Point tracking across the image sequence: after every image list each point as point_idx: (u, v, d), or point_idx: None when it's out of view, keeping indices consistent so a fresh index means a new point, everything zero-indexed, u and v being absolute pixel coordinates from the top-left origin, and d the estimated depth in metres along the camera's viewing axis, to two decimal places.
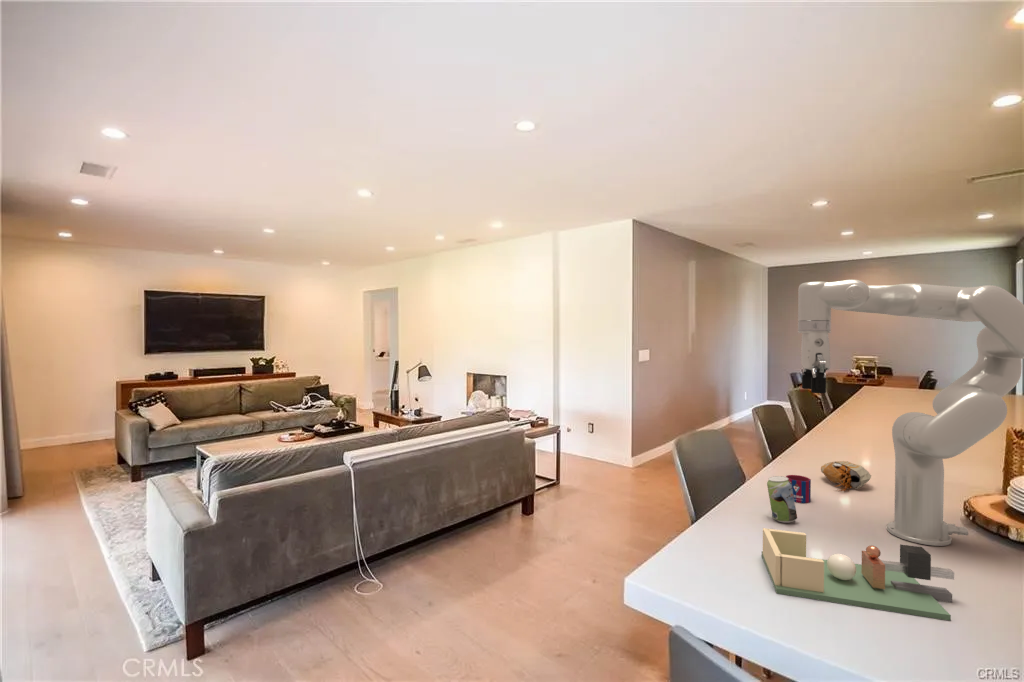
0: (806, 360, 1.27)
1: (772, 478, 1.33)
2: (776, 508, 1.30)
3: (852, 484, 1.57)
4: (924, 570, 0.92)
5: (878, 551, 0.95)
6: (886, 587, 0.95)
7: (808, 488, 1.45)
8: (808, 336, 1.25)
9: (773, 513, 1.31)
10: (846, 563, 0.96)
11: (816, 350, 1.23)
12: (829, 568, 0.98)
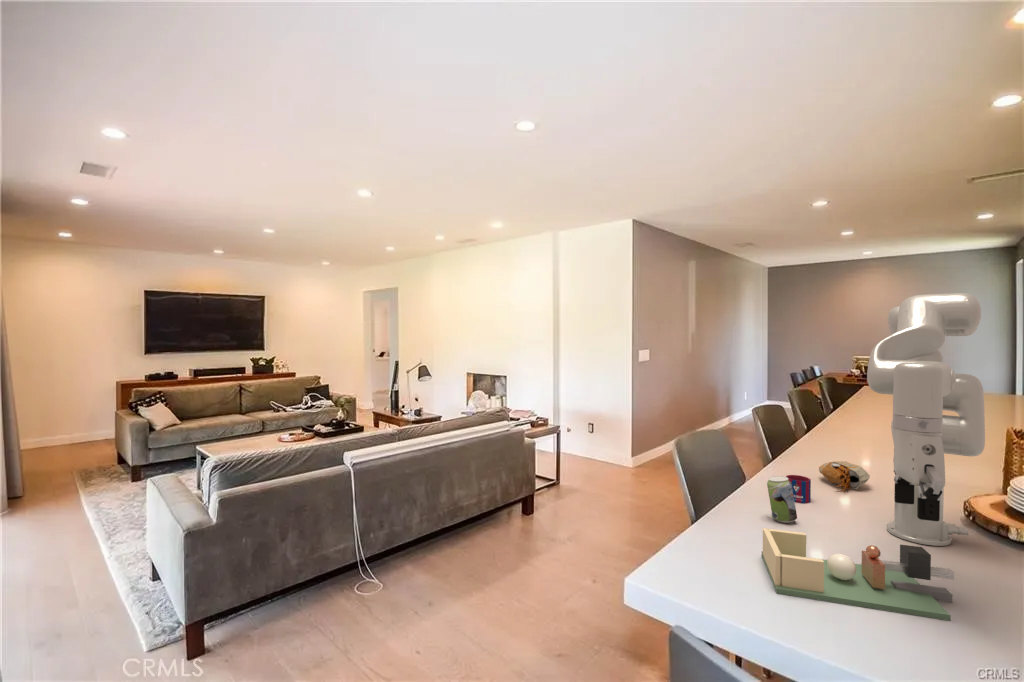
0: (908, 471, 0.92)
1: (772, 478, 1.33)
2: (776, 508, 1.30)
3: (851, 484, 1.57)
4: (924, 570, 0.92)
5: (878, 551, 0.95)
6: (886, 587, 0.95)
7: (808, 488, 1.45)
8: (911, 439, 0.91)
9: (773, 513, 1.31)
10: (846, 563, 0.96)
11: (925, 460, 0.89)
12: (829, 568, 0.98)
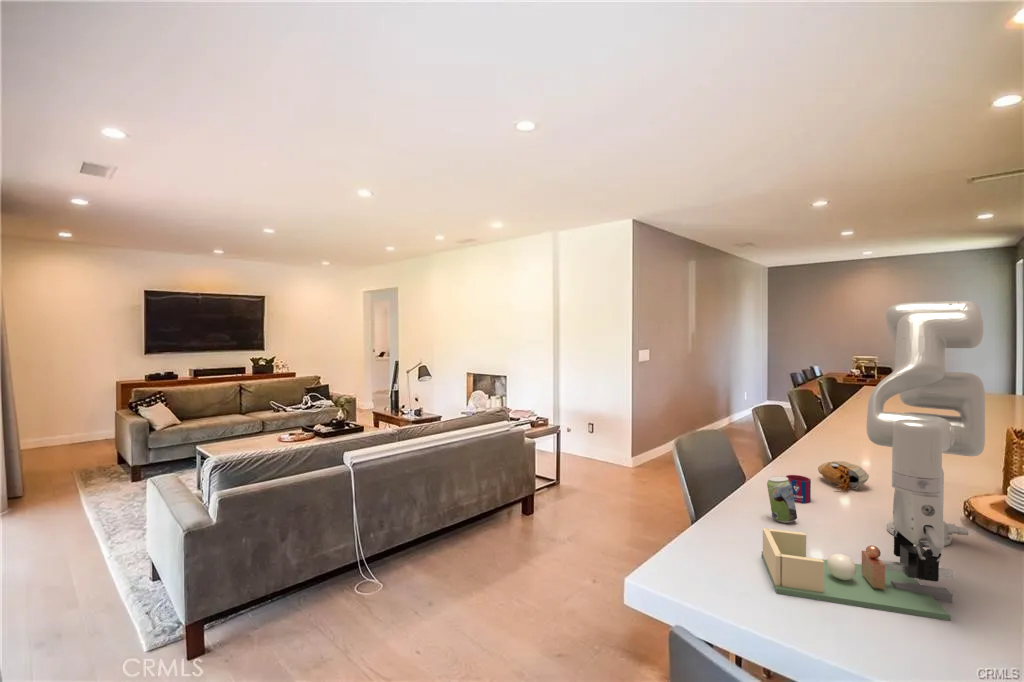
0: (907, 529, 0.93)
1: (772, 478, 1.33)
2: (776, 508, 1.30)
3: (850, 484, 1.57)
4: None
5: (878, 551, 0.95)
6: (886, 587, 0.95)
7: (808, 488, 1.45)
8: (911, 499, 0.91)
9: (773, 513, 1.31)
10: (846, 563, 0.96)
11: (924, 521, 0.90)
12: (829, 568, 0.98)
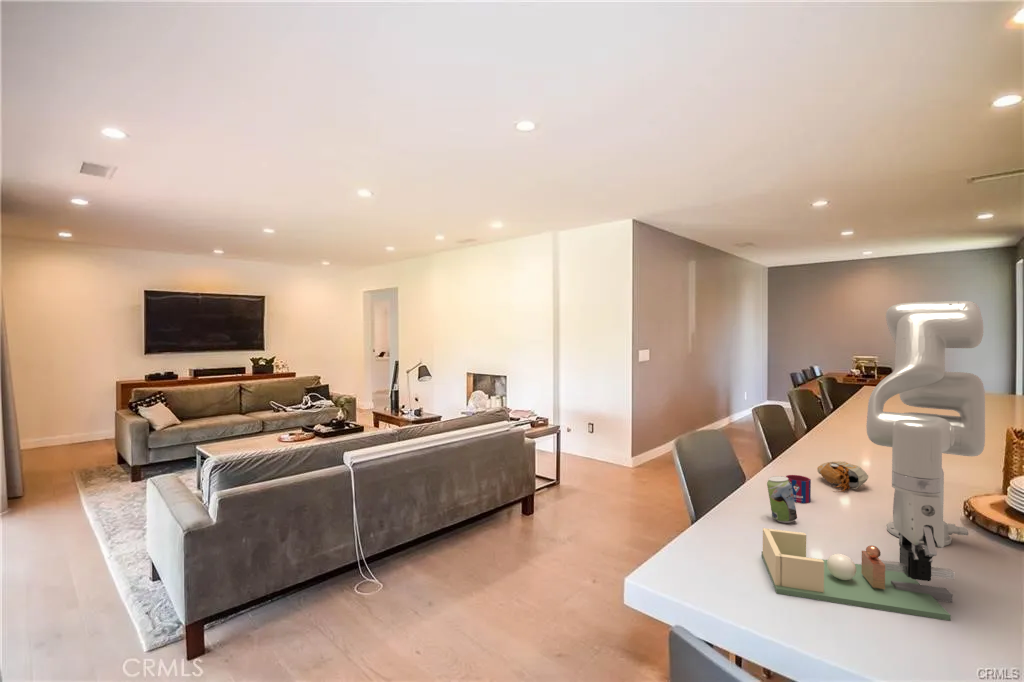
0: (907, 529, 0.93)
1: (772, 478, 1.33)
2: (776, 508, 1.30)
3: (850, 484, 1.57)
4: None
5: (878, 551, 0.95)
6: (886, 587, 0.95)
7: (808, 488, 1.45)
8: (911, 499, 0.91)
9: (773, 513, 1.31)
10: (846, 563, 0.96)
11: (924, 521, 0.90)
12: (829, 568, 0.98)
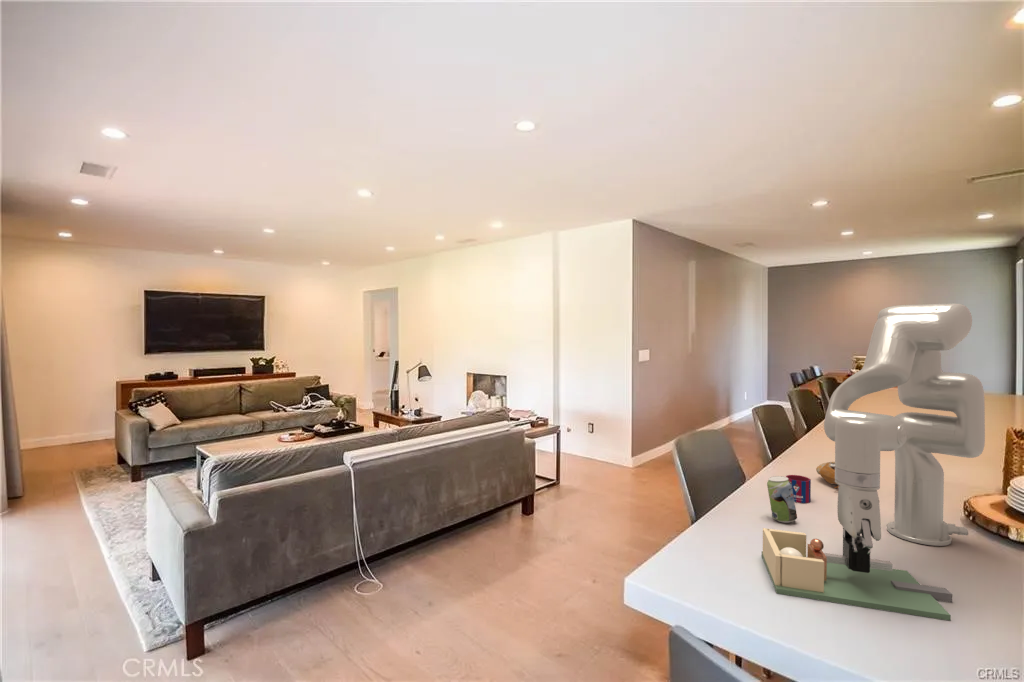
0: (847, 523, 0.96)
1: (772, 478, 1.33)
2: (776, 508, 1.30)
3: None
4: None
5: (821, 544, 0.99)
6: (886, 587, 0.95)
7: (808, 488, 1.45)
8: (850, 493, 0.95)
9: (773, 513, 1.31)
10: None
11: (862, 515, 0.93)
12: (802, 556, 1.00)
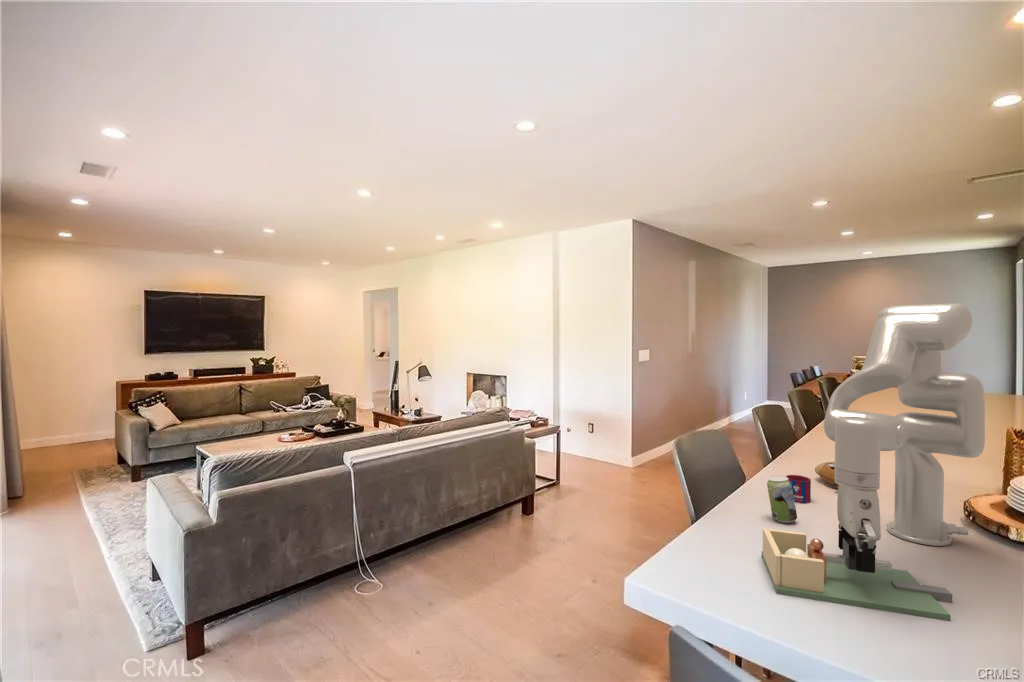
0: (847, 522, 0.96)
1: (772, 478, 1.33)
2: (776, 508, 1.30)
3: None
4: None
5: (821, 544, 0.99)
6: (886, 587, 0.95)
7: (808, 488, 1.45)
8: (850, 493, 0.95)
9: (773, 513, 1.31)
10: None
11: (862, 514, 0.93)
12: None
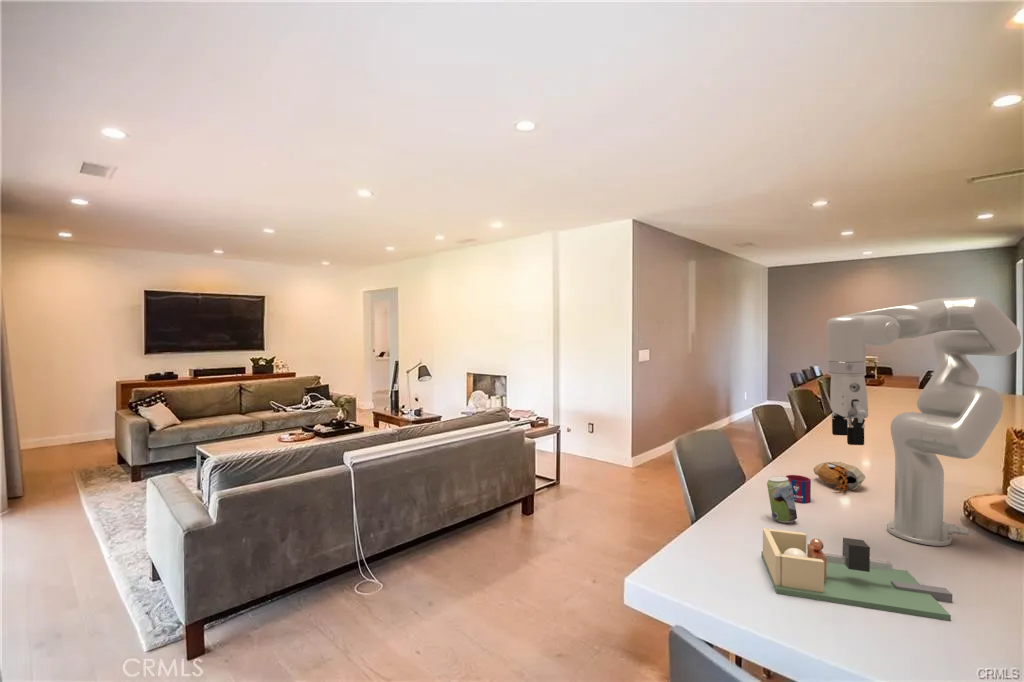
0: (839, 406, 1.12)
1: (772, 478, 1.33)
2: (776, 508, 1.30)
3: (848, 485, 1.56)
4: (863, 562, 0.96)
5: (821, 544, 0.99)
6: (886, 587, 0.95)
7: (808, 488, 1.45)
8: (841, 380, 1.10)
9: (773, 513, 1.31)
10: None
11: (852, 396, 1.09)
12: None
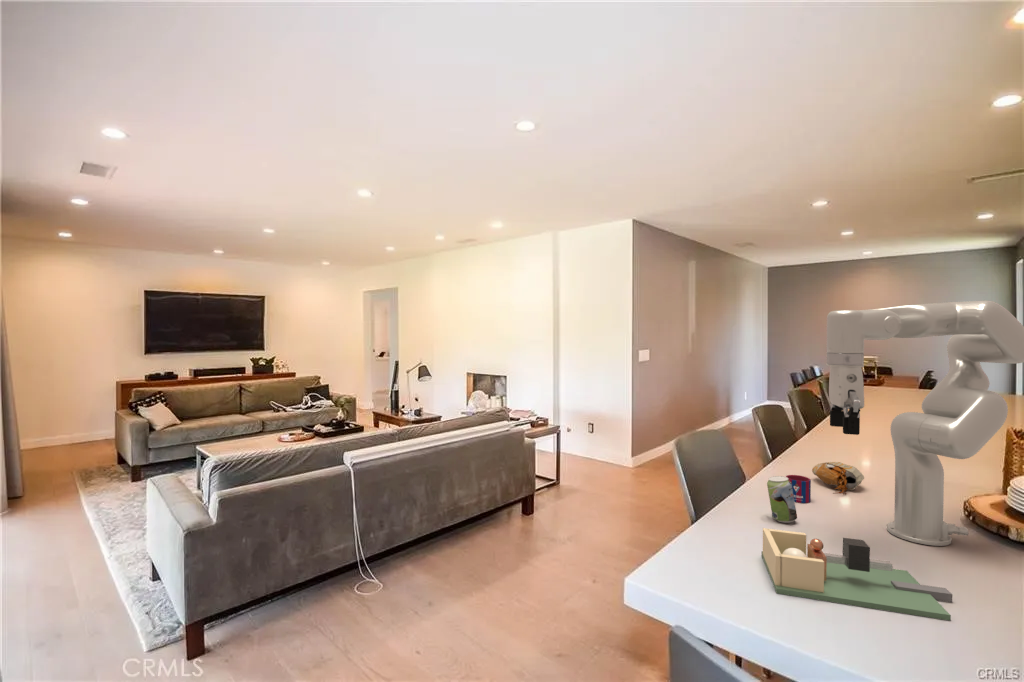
0: (836, 397, 1.15)
1: (772, 478, 1.33)
2: (776, 508, 1.30)
3: (847, 485, 1.56)
4: (863, 562, 0.96)
5: (821, 544, 0.99)
6: (886, 587, 0.95)
7: (808, 488, 1.45)
8: (839, 371, 1.13)
9: (773, 513, 1.31)
10: None
11: (848, 387, 1.11)
12: None
